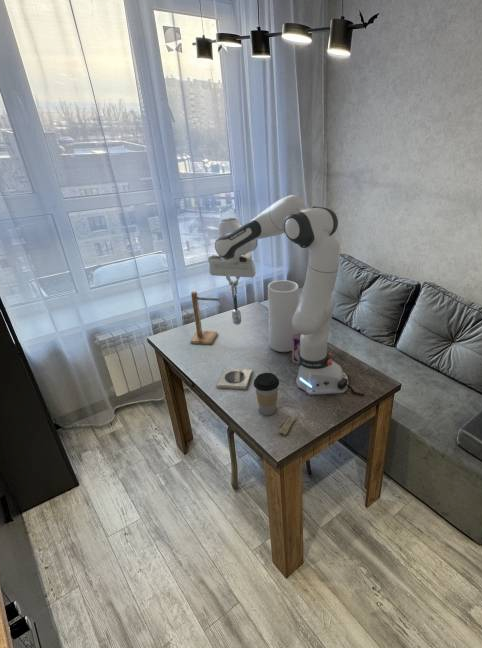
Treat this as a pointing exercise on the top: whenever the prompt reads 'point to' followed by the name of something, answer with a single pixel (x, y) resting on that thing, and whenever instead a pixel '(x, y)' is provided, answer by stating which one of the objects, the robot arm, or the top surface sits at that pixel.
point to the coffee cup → (267, 392)
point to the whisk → (235, 307)
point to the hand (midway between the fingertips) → (233, 284)
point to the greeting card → (295, 348)
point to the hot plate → (234, 378)
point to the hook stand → (200, 335)
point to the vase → (282, 313)
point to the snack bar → (287, 425)
